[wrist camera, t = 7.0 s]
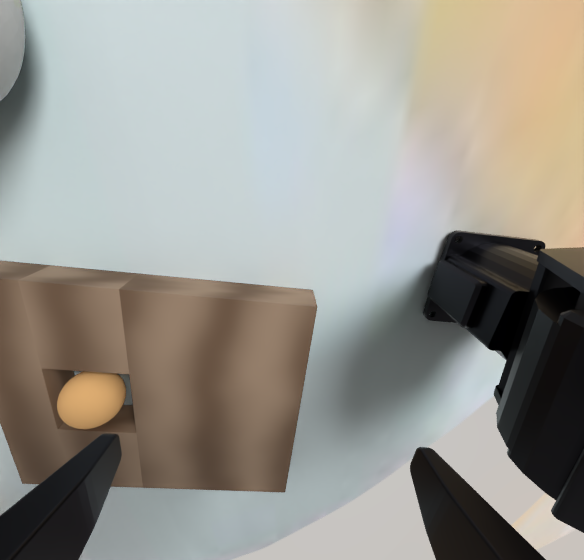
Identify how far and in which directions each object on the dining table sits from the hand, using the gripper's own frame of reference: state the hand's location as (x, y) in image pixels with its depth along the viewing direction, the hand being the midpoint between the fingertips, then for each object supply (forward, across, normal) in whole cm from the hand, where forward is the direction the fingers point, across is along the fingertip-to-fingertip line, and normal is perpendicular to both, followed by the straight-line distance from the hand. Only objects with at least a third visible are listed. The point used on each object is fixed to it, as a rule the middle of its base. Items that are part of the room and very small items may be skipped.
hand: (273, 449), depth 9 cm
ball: (+10, +12, +9) cm, 18 cm away
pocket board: (+12, +8, +9) cm, 17 cm away
